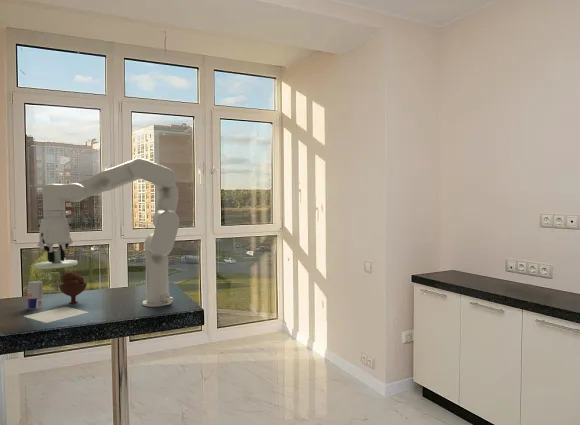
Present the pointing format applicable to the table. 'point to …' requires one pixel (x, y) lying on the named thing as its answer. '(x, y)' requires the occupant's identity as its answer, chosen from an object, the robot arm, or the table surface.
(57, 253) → the lid
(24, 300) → the table surface
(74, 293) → the ice cream bowl
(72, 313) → the mat
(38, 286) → the energy drink
